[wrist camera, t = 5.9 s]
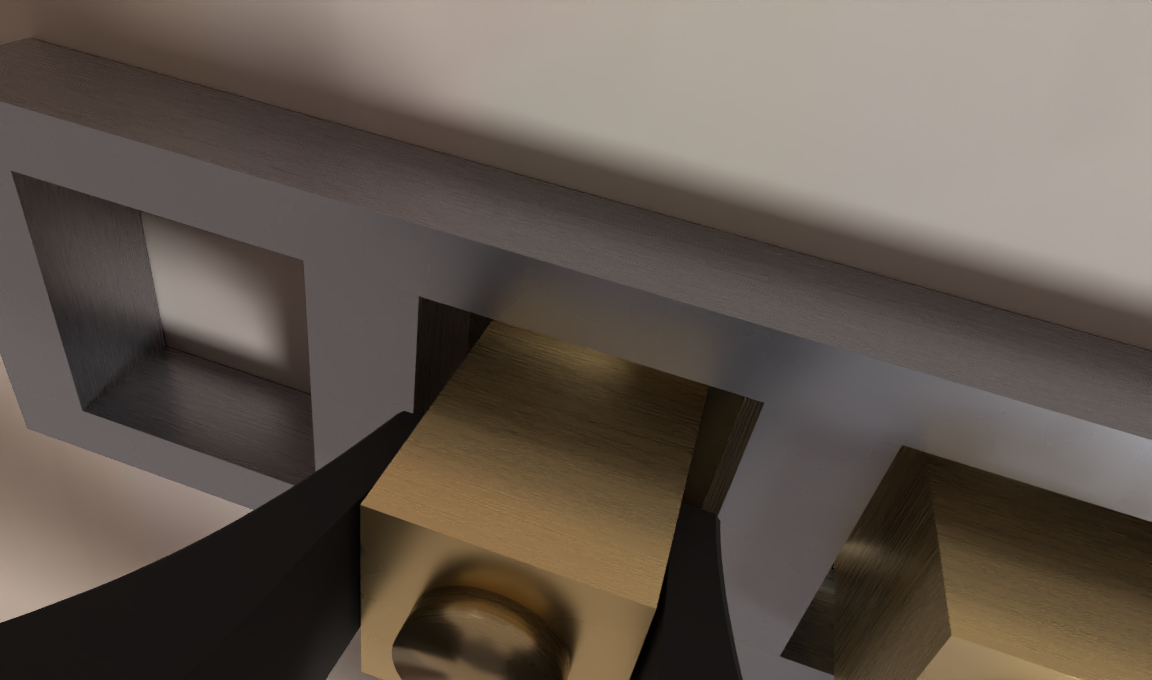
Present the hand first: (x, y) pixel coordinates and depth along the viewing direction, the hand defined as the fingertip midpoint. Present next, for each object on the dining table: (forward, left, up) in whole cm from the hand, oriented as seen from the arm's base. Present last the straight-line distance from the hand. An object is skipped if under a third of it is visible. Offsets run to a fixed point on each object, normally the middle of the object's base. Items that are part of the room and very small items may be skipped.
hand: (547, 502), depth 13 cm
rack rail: (0, 0, -3) cm, 3 cm away
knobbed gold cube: (0, 0, -2) cm, 3 cm away
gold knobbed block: (-7, 0, -3) cm, 8 cm away
